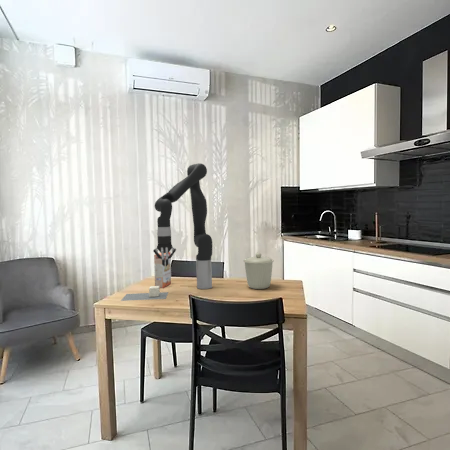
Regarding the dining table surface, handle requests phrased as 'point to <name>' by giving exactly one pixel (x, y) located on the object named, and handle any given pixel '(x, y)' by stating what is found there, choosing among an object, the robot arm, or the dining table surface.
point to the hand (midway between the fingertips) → (165, 265)
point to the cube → (154, 291)
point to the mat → (143, 296)
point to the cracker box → (162, 271)
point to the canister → (258, 271)
